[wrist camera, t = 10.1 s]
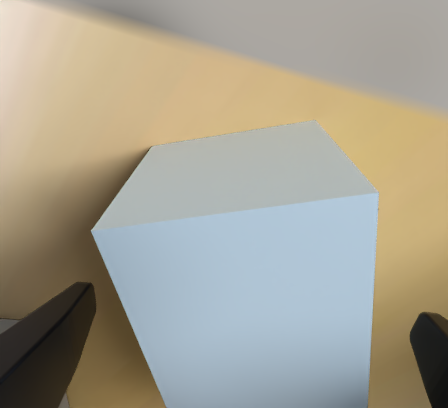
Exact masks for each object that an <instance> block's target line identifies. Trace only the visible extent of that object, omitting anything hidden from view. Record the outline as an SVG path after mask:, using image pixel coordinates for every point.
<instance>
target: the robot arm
mask: <svg viewBox="0 0 448 408" xmlns="http://www.w3.org/2000/svg"><path fill="white" fill-rule="evenodd" d="M95 312H96V299H95V292H94V286H93V284H92V283H87V282H76V283H74V284H73V285H71V286H70V287H68V288H67V289H66V290H64V291H63V292H61V293H60V294H58V295H57V296H55V297H54V298H52V299H51V300H49V301H48V302H46V303H45V304H43V305H42V306H40V307H39V308H37V309H36V310H35V311H33V312H32V313H30V314H29V315H27V316H26V317H24V318H23V319H21V320H20V321H18V322H17V323H15V324H14V325H12V326H11V327H9V328H8V329H6V330H5V331H4V332H2V333H1V334H0V408H59V406H60V403H61V401H62V399H63V397H64V395H65V393H66V390H67V388H68V386H69V384H70V382H71V380H72V377H73V375H74V373H75V370H76V368H77V365H78V363H79V360H80V357H81V354H82V351H83V348H84V345H85V342H86V339H87V336H88V333H89V331H90V328H91V325H92V322H93V319H94V316H95ZM410 342H411V345H412V349H413V352H414V355H415V358H416V361H417V364H418V368H419V371H420V374H421V377H422V380H423V384H424V387H425V390H426V393H427V396H428V398H429V401H430V403H431V406H432V408H448V320H447V319H445V318H444V317H442V316H441V315H439V314H437V313H430V312H422V313H420V314H419V316H418V318H417V320H416V322H415V324H414V326H413V328H412V330H411V332H410Z"/></svg>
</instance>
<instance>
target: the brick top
mask: <svg viewBox="0 0 448 408" xmlns="http://www.w3.org/2000/svg"><path fill="white" fill-rule="evenodd" d="M378 198H379V192H378V191H377V190H376V189H375V188H374V186H373V185H372V184H371V183H370V182H369V181H368V180H367V178H366V177H365V176H364V175H363V174H362V173H361V172H360V170H359V169H358V168H357V167H356V166H355V165H354V164H353V162H352V161H351V160H350V159H349V158H348V157H347V155H346V154H345V153H344V152H343V151H342V150H341V149H340V147H339V146H338V145H337V144H336V143H335V142H334V141H333V139H332V138H331V137H330V136H329V135H328V134H327V133H326V131H325V130H324V129H323V128H322V127H321V126H320V125H319V123H318V122H317V121H316V120H312V121H306V122H299V123H293V124H287V125H281V126H274V127H268V128H262V129H256V130H249V131H243V132H237V133H231V134H224V135H218V136H212V137H206V138H199V139H193V140H187V141H181V142H174V143H168V144H162V145H156V146H152V147H151V148H150V150H149V151H148V153H147V154H146V155H145V157H144V158H143V160H142V161H141V162H140V164H139V165H138V166H137V168H136V169H135V171H134V172H133V173H132V175H131V176H130V178H129V179H128V180H127V182H126V183H125V184H124V186H123V187H122V189H121V190H120V191H119V193H118V194H117V196H116V197H115V198H114V200H113V201H112V203H111V204H110V205H109V207H108V208H107V209H106V211H105V212H104V214H103V215H102V216H101V218H100V219H99V221H98V222H97V223H96V225H95V226H94V227H93V229H92V230H91V232H92V235H93V237H94V239H95V242H96V244H97V246H98V249H99V251H100V253H101V256H102V258H103V260H104V263H105V265H106V267H107V270H108V272H109V274H110V277H111V279H112V281H113V284H114V286H115V288H116V291H117V293H118V295H119V298H120V300H121V302H122V305H123V307H124V310H125V312H126V314H127V317H128V319H129V321H130V324H131V326H132V328H133V331H134V333H135V335H136V338H137V340H138V342H139V345H140V347H141V349H142V352H143V354H144V356H145V359H146V361H147V363H148V366H149V368H150V370H151V373H152V375H153V377H154V380H155V382H156V385H157V387H158V389H159V392H160V394H161V396H162V399H163V401H164V403H165V406H166V408H368V389H369V370H370V351H371V332H372V313H373V294H374V275H375V256H376V237H377V218H378Z"/></svg>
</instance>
